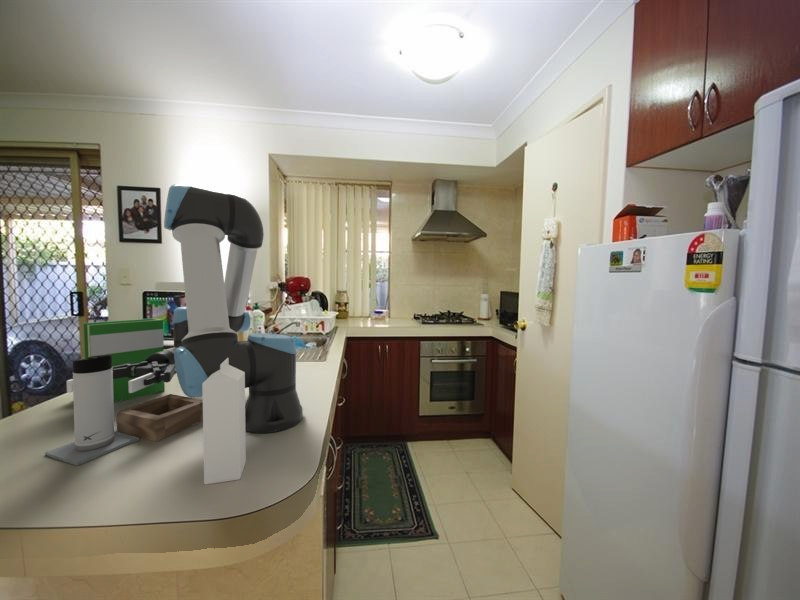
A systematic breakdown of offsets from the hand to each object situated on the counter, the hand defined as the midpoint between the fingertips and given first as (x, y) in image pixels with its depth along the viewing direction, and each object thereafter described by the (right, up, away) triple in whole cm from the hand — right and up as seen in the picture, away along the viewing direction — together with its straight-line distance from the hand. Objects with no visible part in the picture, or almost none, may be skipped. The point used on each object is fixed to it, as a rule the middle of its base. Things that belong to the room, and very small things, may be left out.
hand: (99, 386), depth 71 cm
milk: (+34, -14, -10) cm, 38 cm away
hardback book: (-19, -11, +30) cm, 37 cm away
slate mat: (0, -13, -1) cm, 13 cm away
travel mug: (+1, -13, -1) cm, 13 cm away
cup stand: (+7, -13, +10) cm, 18 cm away
